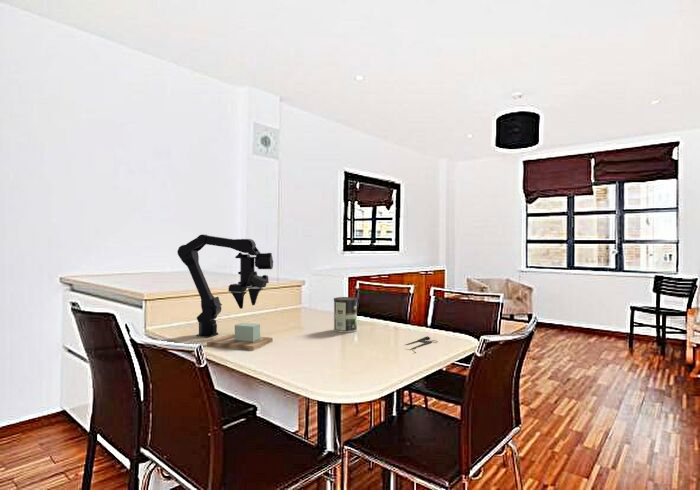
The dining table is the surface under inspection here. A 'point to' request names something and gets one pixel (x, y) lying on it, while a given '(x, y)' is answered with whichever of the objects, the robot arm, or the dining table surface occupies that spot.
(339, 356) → the dining table surface
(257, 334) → the block
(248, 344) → the oak board
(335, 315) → the coffee can
